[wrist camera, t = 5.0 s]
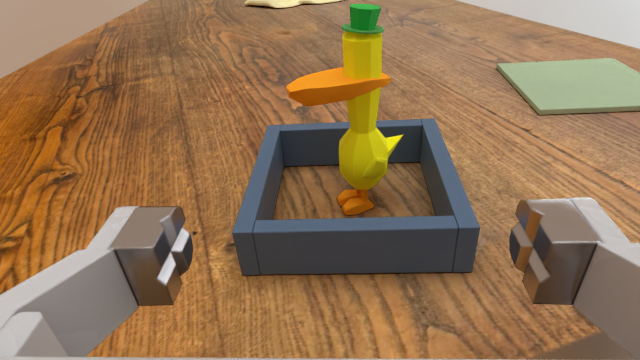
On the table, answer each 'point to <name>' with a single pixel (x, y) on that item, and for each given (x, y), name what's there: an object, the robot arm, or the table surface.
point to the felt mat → (575, 85)
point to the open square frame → (355, 233)
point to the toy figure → (355, 105)
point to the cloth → (285, 2)
